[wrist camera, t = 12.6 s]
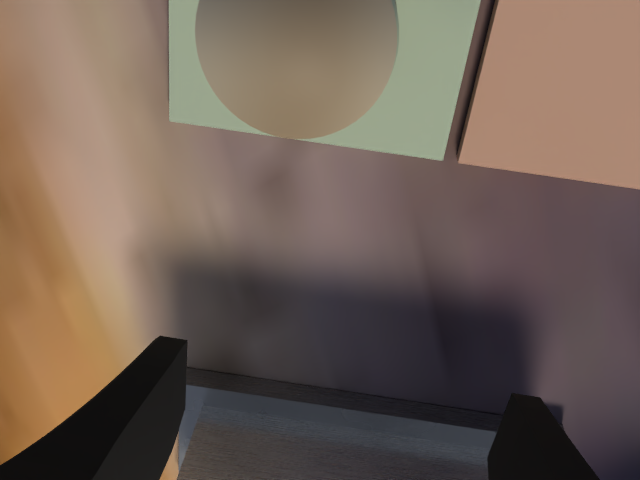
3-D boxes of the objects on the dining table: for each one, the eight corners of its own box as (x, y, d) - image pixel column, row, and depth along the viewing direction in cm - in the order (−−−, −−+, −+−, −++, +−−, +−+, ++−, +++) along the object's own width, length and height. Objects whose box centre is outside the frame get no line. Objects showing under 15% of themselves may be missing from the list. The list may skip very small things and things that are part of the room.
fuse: (406, -75, 17) (419, -58, 11) (381, 75, 19) (380, 154, 13) (257, -96, 17) (193, -89, 11) (248, 56, 19) (191, 126, 13)
